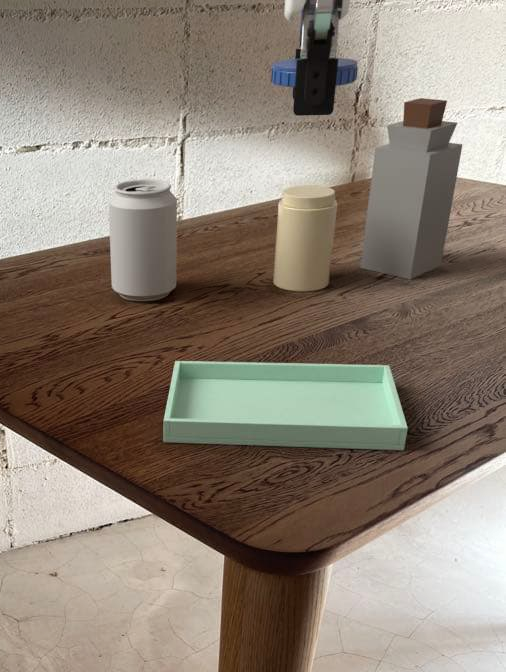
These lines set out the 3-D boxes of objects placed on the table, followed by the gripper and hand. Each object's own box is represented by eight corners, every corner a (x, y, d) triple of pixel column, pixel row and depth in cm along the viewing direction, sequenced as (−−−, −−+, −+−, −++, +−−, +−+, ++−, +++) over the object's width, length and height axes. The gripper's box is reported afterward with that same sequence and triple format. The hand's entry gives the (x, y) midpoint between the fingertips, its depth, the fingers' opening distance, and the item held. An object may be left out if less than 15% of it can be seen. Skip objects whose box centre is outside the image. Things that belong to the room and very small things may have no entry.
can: (149, 277, 106) (147, 172, 99) (189, 292, 100) (191, 183, 94) (99, 292, 102) (94, 184, 95) (138, 308, 97) (136, 196, 90)
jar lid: (270, 88, 71) (271, 69, 70) (271, 76, 77) (272, 58, 76) (359, 86, 70) (361, 66, 69) (353, 74, 76) (355, 56, 75)
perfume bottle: (410, 279, 101) (437, 108, 91) (360, 267, 105) (381, 103, 95) (440, 265, 105) (470, 99, 94) (391, 254, 109) (414, 94, 99)
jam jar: (327, 273, 104) (336, 183, 98) (330, 291, 99) (340, 198, 93) (272, 273, 105) (278, 184, 99) (273, 291, 100) (280, 198, 94)
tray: (386, 385, 78) (389, 364, 77) (404, 450, 69) (407, 427, 67) (175, 380, 81) (175, 360, 80) (163, 442, 71) (163, 420, 70)
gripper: (282, -148, 72) (268, 92, 82) (282, -165, 58) (265, 126, 68) (376, -154, 71) (350, 90, 81) (399, -174, 57) (364, 124, 67)
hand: (311, 105), depth 74 cm, fingers closed on jar lid, 6 cm apart
